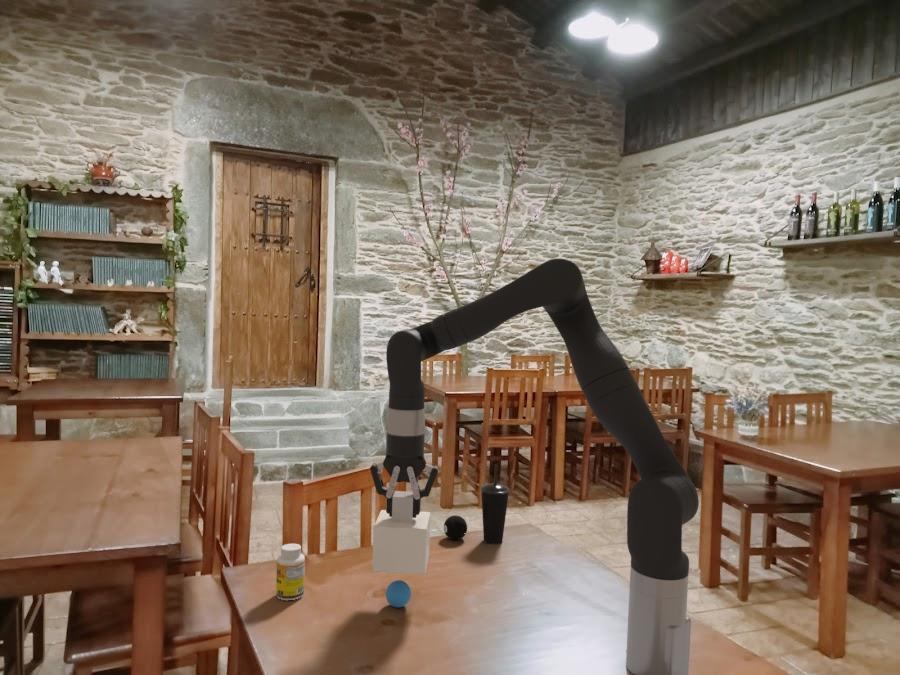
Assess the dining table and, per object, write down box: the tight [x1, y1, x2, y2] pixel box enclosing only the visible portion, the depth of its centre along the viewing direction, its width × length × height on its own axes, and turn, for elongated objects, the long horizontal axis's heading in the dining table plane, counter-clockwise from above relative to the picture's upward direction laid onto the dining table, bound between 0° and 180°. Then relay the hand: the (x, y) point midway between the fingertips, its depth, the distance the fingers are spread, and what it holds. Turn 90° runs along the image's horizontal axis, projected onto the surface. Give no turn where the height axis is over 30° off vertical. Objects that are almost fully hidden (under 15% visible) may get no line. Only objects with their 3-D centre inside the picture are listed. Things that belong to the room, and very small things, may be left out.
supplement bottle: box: [275, 543, 306, 601], centre depth 129 cm, size 6×6×10 cm
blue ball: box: [385, 579, 412, 608], centre depth 126 cm, size 5×5×5 cm
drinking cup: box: [479, 463, 511, 545], centre depth 164 cm, size 8×8×20 cm
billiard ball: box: [443, 515, 468, 541], centre depth 165 cm, size 6×6×6 cm
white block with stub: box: [371, 490, 431, 575], centre depth 126 cm, size 10×10×14 cm
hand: (402, 515), depth 126 cm, fingers closed on white block with stub, 4 cm apart
